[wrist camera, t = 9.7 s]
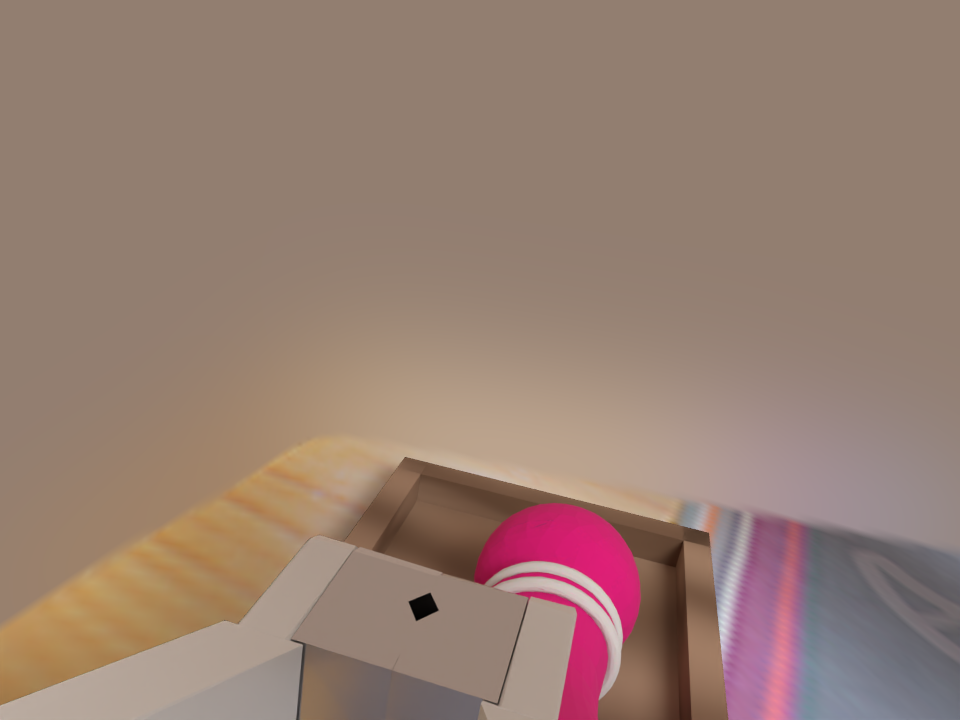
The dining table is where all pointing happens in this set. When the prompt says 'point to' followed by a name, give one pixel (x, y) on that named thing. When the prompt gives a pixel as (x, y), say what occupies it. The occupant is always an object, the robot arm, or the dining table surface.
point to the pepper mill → (571, 589)
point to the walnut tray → (654, 544)
